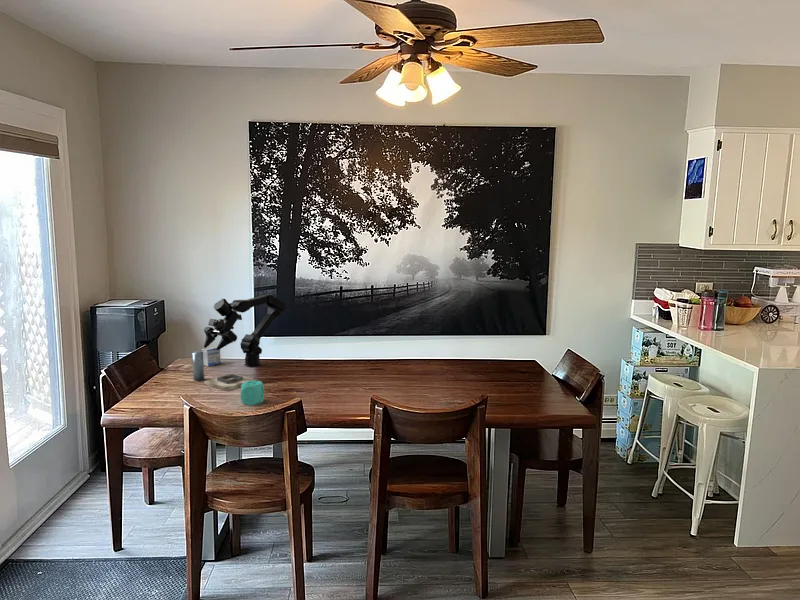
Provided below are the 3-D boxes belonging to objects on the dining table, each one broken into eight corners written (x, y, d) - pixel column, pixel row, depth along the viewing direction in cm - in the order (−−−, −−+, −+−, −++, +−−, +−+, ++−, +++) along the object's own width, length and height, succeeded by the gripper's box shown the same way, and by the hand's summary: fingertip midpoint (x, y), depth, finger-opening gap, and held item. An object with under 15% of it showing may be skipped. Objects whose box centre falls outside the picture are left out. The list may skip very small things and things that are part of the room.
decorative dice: (264, 398, 248) (263, 380, 247) (261, 405, 240) (260, 385, 239) (245, 399, 248) (244, 380, 246) (241, 405, 240) (240, 386, 239)
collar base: (234, 376, 281) (234, 370, 281) (255, 382, 271) (255, 376, 271) (204, 384, 269) (204, 378, 269) (225, 390, 259) (225, 384, 259)
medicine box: (207, 366, 300) (206, 350, 299) (202, 365, 303) (201, 348, 302) (221, 363, 307) (220, 347, 305) (215, 362, 309) (214, 346, 308)
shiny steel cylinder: (200, 377, 280) (199, 350, 278) (206, 379, 277) (205, 352, 275) (191, 379, 277) (189, 352, 275) (197, 381, 274) (195, 354, 272)
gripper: (205, 310, 288) (187, 336, 281) (231, 313, 278) (212, 341, 270) (220, 323, 296) (202, 349, 288) (245, 327, 285) (227, 354, 278)
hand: (210, 348), depth 281 cm, fingers open, 9 cm apart
